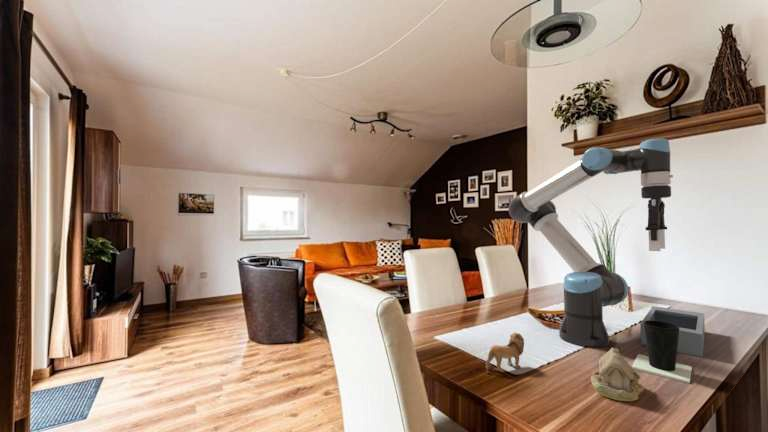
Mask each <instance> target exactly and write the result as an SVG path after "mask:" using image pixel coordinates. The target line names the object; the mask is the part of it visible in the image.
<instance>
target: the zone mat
mask: <svg viewBox="0 0 768 432" xmlns="http://www.w3.org/2000/svg"><path fill="white" fill-rule="evenodd" d="M631 367H632V368H633V369H634V370H635V371H641V372H644V373H648V374H652V375H654V376H659V377H662V378H667V379H670V380H674V381H679V382H683V383H686V382H687V383H686V384H689V383H691V377H692V369H693V367H692V366H691V365H687V364H682V363H679V362H676V367H675V371H664V370H660V369H657V368H654V367H652V366H651V365H650V364H649V357H648V356H647V355H643V354H640V353H639V354H637V356H636V357H635V359H634V361H633V363H632V365H631Z"/></svg>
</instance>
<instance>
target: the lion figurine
mask: <svg viewBox="0 0 768 432" xmlns="http://www.w3.org/2000/svg"><path fill="white" fill-rule="evenodd" d="M509 336H510V338H509V342H508V343H507V344H505V345H498V344H496V345H493V346H491V347H490V348H489V351H488V355H487V358H486V361H485V369H486V372H487V373H488V372H490V369H491V365H490V362H492V361H493V359H494V358H495V361H496V367H497V369H498V370H499V371H500V372H501V373H505V371H506V370H505V369H504V368H502V366H501V364H502V361H503V359H507V365H509V366H512V365H513V363H512V358H514V362H515V363H514V365H515V368H517V369H521V366H520V365H519V364H520V356H521V355H522V354H523V352H524V348H525V341H524V340H525V339H524V337H523V336H522V334H520V333H518V332H514V333H511V334H510V335H509Z"/></svg>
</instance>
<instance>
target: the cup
mask: <svg viewBox="0 0 768 432" xmlns="http://www.w3.org/2000/svg"><path fill="white" fill-rule="evenodd" d="M644 328H645V335H646V342H647V345H646V348H647V349H646V350H647V355H648V357H649V364H650V365H651V366H652V367H654V368H657V369H660V370H664V371H675V367H676V363H677V354H678V352H677V347H678V337H679V327H678V326H677V325H674V324H671V323H667V322H662V321H653V320H648V321H644Z"/></svg>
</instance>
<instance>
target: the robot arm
mask: <svg viewBox="0 0 768 432" xmlns="http://www.w3.org/2000/svg"><path fill="white" fill-rule="evenodd" d="M670 148H671V147H670V141H669V140H668V139H667V138H663V137H662V138H651V139H647V140H643V141H642V142H640V145H639V148H635V149H630V150H623V151H622V150H617V149H610V148H606V147H602V146H600V147H590V148H588V149H587V150H586V151H584V153H583V154H582V157H581V159H579V160H577V161H576V162H575V163H573V164H571V165H569V166H568V167H566V168H565V169H562V170H561V171H560V172H558V173H557V174H555V175H553V176H551V177H550V178H548V179H546V180H545V181H544V182H541V183H540V184H538V185H537V186H536V187H534V188H533V189H531V190H529V191H523V192H521V193H520V194H518V195H517V196H515V197H514V198H512V200H511V201H510V202H509V206H508V214H509V216H510V217H511V219H512V220H513V221H515V222H517V223H520V224H529V225H530V226H531V227H532V228H533V230H534V231H535V232H536V231H537V232H541V234H542V235H543V236H544V237H545V238H546V239H547V241H548V243H550V245H551V246H552V247H553V248H554V250H555V251H556V252H557V253H558V254H559V256H560V257H561V258H562V259H563V260H564V261H565V263H566V264H567V265H568V266H569V267H570V268H571V270H572V271H573V272H569V273H567V274H565V276H564V277H563V284H562V285H563V303H564V304H563V305H564V306H563V307H564V309H563V310H564V312H563V313H564V315H563V318H562V320H561V324H560V327H559V330H558V331H559V332H558V333H559V334H558V335H559V337H560V339H562V340H563V341H566V342H567V343H571V344H574V345H579V346H583V347H590V348H603V347H608V346H609V345H610V336H609V334H608V330H607V328H606V326H605V323H604V319H603V308H604V307H605V308H606V307H607V306H608V307H609V306H615V305H618V304H619V303H622V302H623V301H625V300H626V298H627V297H628V294H629V286H628V283H627V281H626V280H625V277H623V276H621V275H620V274H619V273H616V272H611V270H609V268H608V267H607V266H606V265H605V264H603V263H598V262H597V261H596V260H595V259H594V258H593V257H592V256H591V255H590V254H589V252H588V251H586V249H585V248H584V247H583V246H582V245H581V244H580V243H579V241H578V240H577V239H576V238H575V237H574V236H573V235H572V234H571V233H570V231H569V230H568V229H567V228H566V227H565V226H564V225H563V224H562V223H561V222H560V221H559V220H558V219H559V214H558V213H557V207H556V205H555V203H554V202H553V201H552V200H554V199H556V198H557V197H559V196H561V195H563V194H564V193H567V192H568V191H570V190H572V189H574V188H575V187H577V186H580V184H582V183H585V182H586V181H588V180H589V179H591V178H594V177H595V176H597V175H599V174H601V173H602V172H603V173H604V174H605V175H613V174H614V175H618V174H621V173H622V174H623V173H628V172H635V171H636V172H639V171H640V186H642V187H641V188H640V189H641V198H642V199H648V203H647V208H648V210H647V211H648V215H647V216H648V217H647V227H646V226H645V231H648V251H649V252H661V249H666V241H665V240H666V236H665V234H666V233H665V232H666V231H667V230H668V226H666V224H665V206H666V205H665V202H664V201H663V200H662V199H665V198H670V197H672V186H670V184H671V183H672V182H671V181H672V180H671V178H673V177H674V175H673V174H671V149H670ZM665 230H666V231H665Z"/></svg>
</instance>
